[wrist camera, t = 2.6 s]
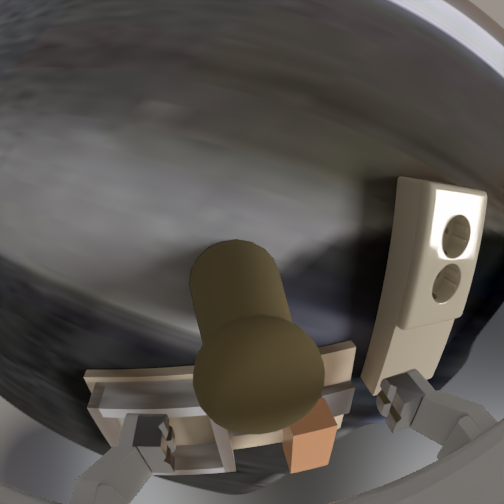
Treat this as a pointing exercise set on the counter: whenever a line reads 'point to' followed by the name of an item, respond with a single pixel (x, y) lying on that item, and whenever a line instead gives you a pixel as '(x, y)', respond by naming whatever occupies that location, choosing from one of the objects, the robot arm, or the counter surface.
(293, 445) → the block
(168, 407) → the rail panel
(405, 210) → the electrical outlet
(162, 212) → the counter surface
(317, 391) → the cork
